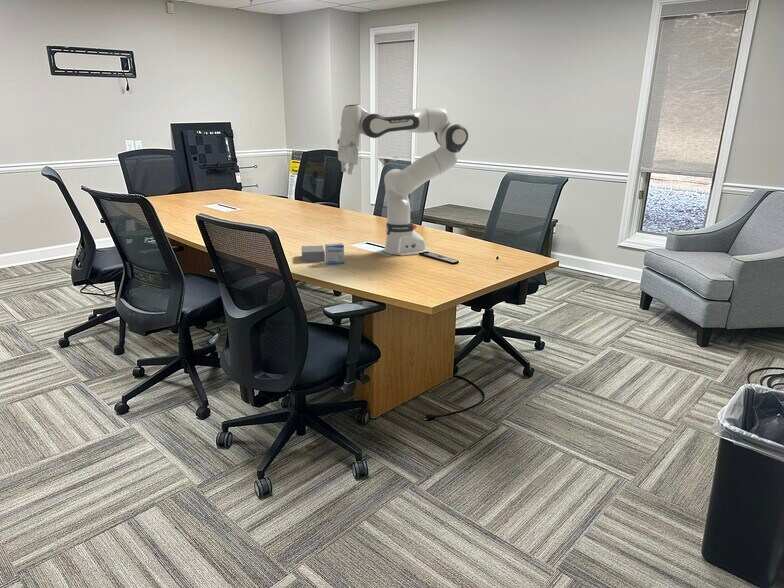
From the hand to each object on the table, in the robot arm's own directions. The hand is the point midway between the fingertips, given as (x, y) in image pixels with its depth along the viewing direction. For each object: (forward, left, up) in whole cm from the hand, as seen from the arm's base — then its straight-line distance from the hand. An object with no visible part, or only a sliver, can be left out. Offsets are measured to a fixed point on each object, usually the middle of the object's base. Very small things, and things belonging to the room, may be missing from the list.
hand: (346, 173), depth 250 cm
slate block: (+17, +5, -39) cm, 42 cm away
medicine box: (+8, +15, -39) cm, 42 cm away
